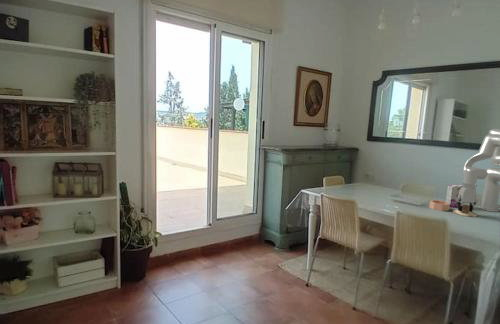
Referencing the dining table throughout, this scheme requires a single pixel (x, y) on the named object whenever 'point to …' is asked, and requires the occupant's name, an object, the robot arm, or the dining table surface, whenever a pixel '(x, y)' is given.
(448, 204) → the bowl
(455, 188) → the candy bar box
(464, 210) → the lid
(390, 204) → the dining table surface
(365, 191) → the dining table surface
